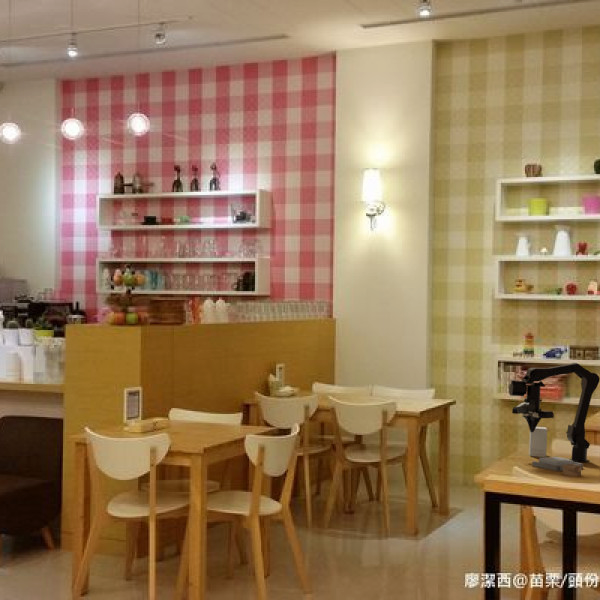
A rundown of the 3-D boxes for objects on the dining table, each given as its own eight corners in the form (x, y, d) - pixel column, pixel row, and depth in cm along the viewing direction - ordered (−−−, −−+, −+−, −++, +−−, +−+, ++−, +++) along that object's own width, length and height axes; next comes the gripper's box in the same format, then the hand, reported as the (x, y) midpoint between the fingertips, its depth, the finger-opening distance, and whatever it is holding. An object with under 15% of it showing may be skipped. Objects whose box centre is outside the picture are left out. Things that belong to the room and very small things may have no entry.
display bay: (557, 463, 391) (557, 458, 391) (582, 468, 380) (583, 463, 380) (532, 466, 381) (532, 461, 381) (558, 471, 370) (558, 466, 370)
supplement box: (546, 457, 406) (547, 429, 406) (529, 456, 407) (530, 428, 407) (545, 454, 413) (546, 427, 413) (528, 453, 415) (529, 425, 415)
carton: (555, 466, 386) (555, 456, 386) (572, 469, 378) (572, 460, 378) (538, 467, 381) (539, 457, 381) (555, 471, 373) (555, 461, 373)
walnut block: (570, 473, 368) (570, 463, 368) (580, 475, 364) (581, 465, 364) (562, 474, 365) (563, 464, 365) (573, 476, 361) (573, 466, 361)
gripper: (504, 394, 401) (503, 430, 401) (538, 399, 386) (537, 436, 386) (521, 394, 408) (519, 428, 408) (555, 398, 393) (553, 434, 393)
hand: (531, 432), depth 398 cm, fingers closed
